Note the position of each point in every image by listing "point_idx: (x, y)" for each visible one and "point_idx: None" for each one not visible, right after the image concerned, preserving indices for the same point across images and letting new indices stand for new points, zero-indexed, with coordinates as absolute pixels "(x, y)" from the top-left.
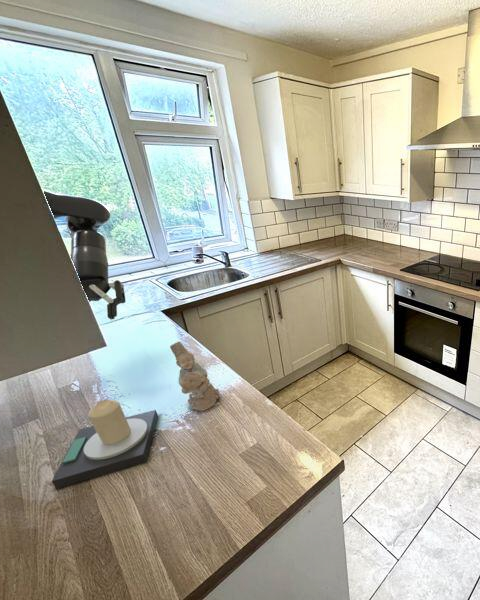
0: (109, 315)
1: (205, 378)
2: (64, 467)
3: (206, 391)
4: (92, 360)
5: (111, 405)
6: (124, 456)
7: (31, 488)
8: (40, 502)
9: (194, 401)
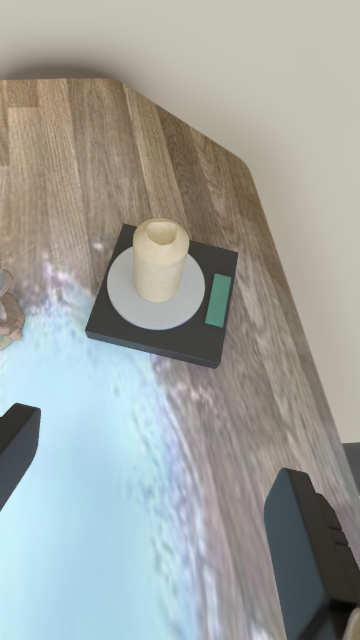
0: (21, 405)
1: None
2: (227, 269)
3: None
4: None
5: (145, 224)
6: None
7: (264, 285)
8: (246, 251)
9: (8, 308)
